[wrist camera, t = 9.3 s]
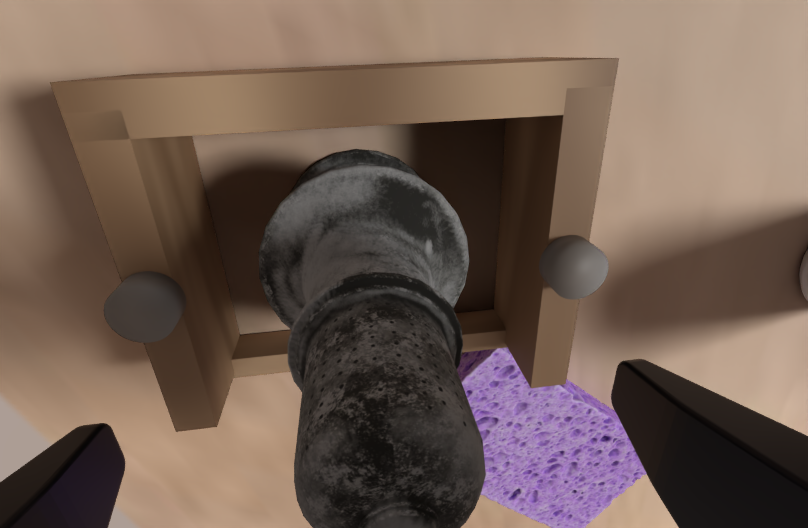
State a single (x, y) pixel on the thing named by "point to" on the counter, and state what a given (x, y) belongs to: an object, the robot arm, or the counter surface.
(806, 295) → the energy drink
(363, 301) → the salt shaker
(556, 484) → the sponges
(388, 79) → the holder
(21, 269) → the counter surface
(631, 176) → the counter surface
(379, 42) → the counter surface
